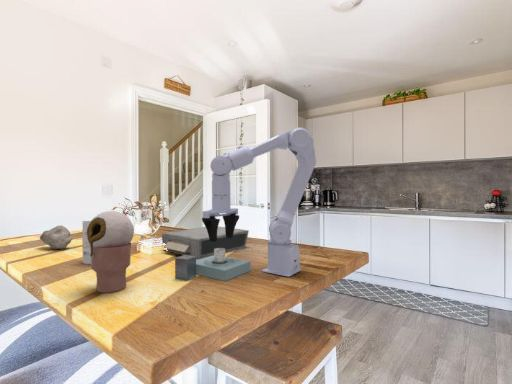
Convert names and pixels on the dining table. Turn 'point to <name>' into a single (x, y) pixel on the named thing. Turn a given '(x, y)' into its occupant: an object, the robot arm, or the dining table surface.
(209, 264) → the socket block
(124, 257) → the ice cream cone
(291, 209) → the robot arm
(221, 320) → the dining table surface
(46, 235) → the stone
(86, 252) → the ink box
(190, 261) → the square bar
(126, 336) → the dining table surface
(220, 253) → the round bit
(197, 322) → the dining table surface
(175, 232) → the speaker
